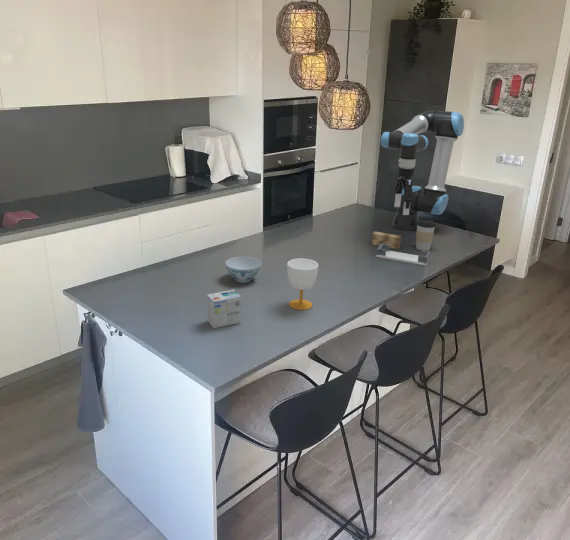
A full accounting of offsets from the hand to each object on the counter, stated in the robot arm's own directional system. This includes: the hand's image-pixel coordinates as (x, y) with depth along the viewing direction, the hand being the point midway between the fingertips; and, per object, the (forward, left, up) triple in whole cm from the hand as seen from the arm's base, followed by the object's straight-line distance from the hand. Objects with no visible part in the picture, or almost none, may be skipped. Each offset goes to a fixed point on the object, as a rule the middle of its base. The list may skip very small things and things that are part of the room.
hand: (401, 210), depth 262 cm
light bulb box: (+106, -38, -21) cm, 115 cm away
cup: (+80, -19, -21) cm, 85 cm away
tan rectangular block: (-5, -7, -21) cm, 22 cm away
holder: (+9, +5, -21) cm, 23 cm away
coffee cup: (-10, +11, -21) cm, 25 cm away
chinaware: (+69, -50, -21) cm, 88 cm away
